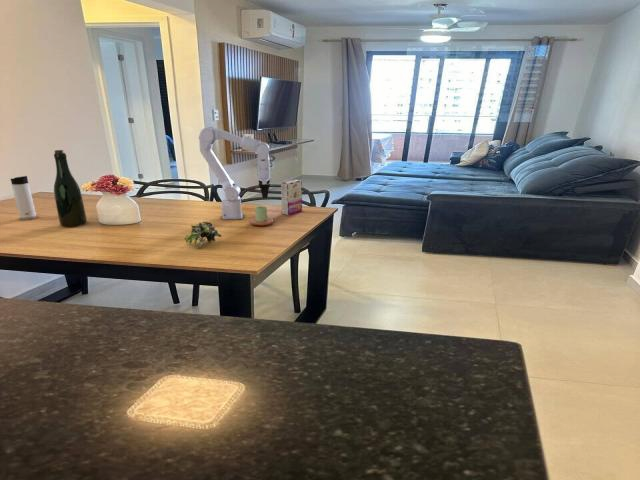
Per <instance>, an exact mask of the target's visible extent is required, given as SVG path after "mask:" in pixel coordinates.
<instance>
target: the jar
mask: <svg viewBox="0 0 640 480" xmlns="http://www.w3.org/2000/svg"><path fill="white" fill-rule="evenodd" d="M254 208H255V209H254V210H255V218H256V221H258V222H264V221H267V217H268V214H267V213H268V211H267V206H262V205H261V206H255V207H254Z"/></svg>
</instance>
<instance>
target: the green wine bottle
mask: <svg viewBox="0 0 640 480" xmlns="http://www.w3.org/2000/svg"><path fill="white" fill-rule="evenodd" d="M53 158H54V162H55V170H56V173H55V175H56V176H55V179H54V184H53V195H54V201H55V207H56V212H57V217H58V222H59V225H60V226H61V227H63V228H75V227H80V226H84V225H86V224H87V223H88V218H87V214H86V208H85V204H84V199H83V195H82V191H81V187H80V186H79V184H78V182H77V181H76V179H75V177H74V176H73V174H72V173H71V169H70V167H69V163H68V158H67V154H66V152H65V151H64V149H56V150H54V153H53Z"/></svg>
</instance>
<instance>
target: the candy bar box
mask: <svg viewBox="0 0 640 480" xmlns="http://www.w3.org/2000/svg"><path fill="white" fill-rule="evenodd" d="M302 182H303V181H302V180H301V179H291V180H287V181H282V182H280V196H281V198H280V199H281V214H282V215H286V216H290V215H294V214H297V213H301V212H302V211H303V183H302Z"/></svg>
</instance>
